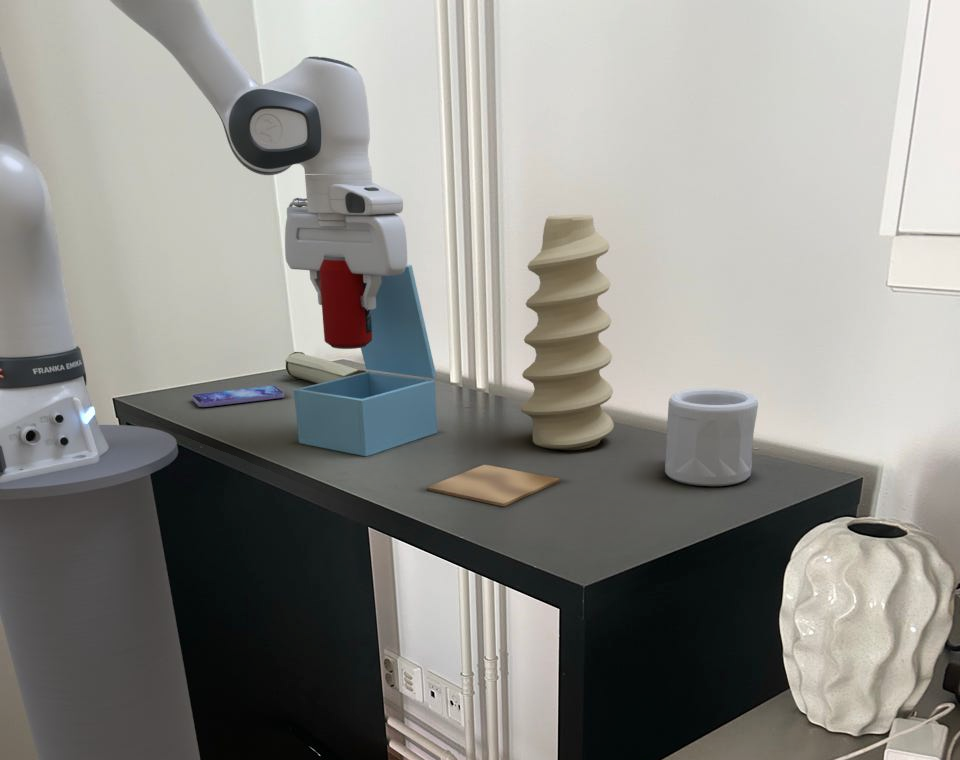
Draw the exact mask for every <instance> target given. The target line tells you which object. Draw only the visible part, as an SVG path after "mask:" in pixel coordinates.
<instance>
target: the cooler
mask: <svg viewBox="0 0 960 760" xmlns="http://www.w3.org/2000/svg"><path fill="white" fill-rule="evenodd" d="M293 398H294V407H295V416H296V427H297V436H298V443H299V444H302V445H307V446H311V447H316V448H322V449H328V450H333V451H337V452H343V453H347V454H351V455H352V454H353V455H357V456H362V457H369V456H372V455H375V454H377V453H381V452H384V451H387V450H390V449H393V448H396V447H398V446H399V447H400V446H402V445H404V444H408V443H411V442H414V441H418V440H419V439H422V438H426V437H429V436H431V435H432V436H433V435H434V434H438V417H437V394H436V381H435V380H434V379H426V378H420V377H419V378H418V377H413V376H405V375H397V374H390V373H382V372H376V371H366V372H364V373H360V374H356V375H352V376H348V377H344V378H340V379H335V380H331V381H327V382H323V383H319V384H318V383H315V384H312V385H307V386H304V387H300V388H295V389H293Z"/></svg>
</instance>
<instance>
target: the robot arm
mask: <svg viewBox="0 0 960 760" xmlns="http://www.w3.org/2000/svg"><path fill="white" fill-rule="evenodd" d="M109 2H111V3H112V4H113V5H114V6H115V7H116V8H117V9H118V10H119V11H121V12H122V13H123V14H124V15H125V16H127V17H128V18H129V19H130V20H131V21H133V23H135V24H136V25H138V26H139V27H140V28H142V30H144V31H145V32H147V33H148V34H149V35H150V36H151V37H153V38H154V39H155V40H156V41H157V42H159V43H160V44H161V46H163V47H164V48H165V49H166V51H168V52H169V53H170V54H171V55H172V57H173V58H174V59H175V60H176V61H177V62H178V64H179V65H180V66H181V67H182V69H183V70H184V71H185V72H186V74H187V75H188V77H190V79H191V80H192V81H193V83H194V84H195V85H196V87H197V88H198V89H199V91H200V92H201V93H202V94H203V96H204V97H205V98H206V100H207V101H208V102H209V103H210V104H211V106H212V108H214V110H215V112H216V113H217V115H218V117H219V118H220V120H221V123H222V126H223V129H224V132H225V136H226V140H227V143H228V145H229V147H230V150H231V153H232V154H233V155H234V157H235V158H236V159H237V161H238V162H239V163H240V164H241V165H242V166H243V167H245V169H247V170H249V171H251V172H253V173H255V174H258V175H261V176H262V175H263V176H275V175H279V174H282V173H284V172H286V171H287V170H289V169H290V168H291V167H293V165H300V166H301V167H302V168H303V170H304V181H305V193H306V194H305V195H306V198H301V197H295V198H293V199H292V201H291V202H290V203H289V205H288V206H287V208H286V220H285V228H284V231H285V232H284V255H285V262H286V264H287V265H288V267H289V269H291V270H299V271H309V279H310V282H311V283H312V285H313V287H314V289H315V291H316V293H317V302H318V305H319V306H322V301H321V286H320V267H321V264H322V262H323V260H324V256H326V257H345V261H346V263H347V265H348V267H349V269H350V270H351V272H352V273H353V274H363V281H364V283H367V285H366V288H365V291H364V295H362V296H359V301H360V308H361V309H366V310H371V309H375V308H376V295H377V292H378V290H379V287H380V285H381V283H382V280H381V276H393V275H400V274H403V272H404V270H405V269H406V267H407V265H408V243H407V242H408V241H407V232H406V227H405V223H404V220H403V219H402V217H401V216H400V215H399V214H401V213H402V212H403V210H404V200H403V197H402V196H401V195H400V194H398V193H396V192H393V191H391V190H389V189H388V188H385V187H384V186H381V185H380V184H378V183H375V182H373V170H372V166H371V163H370V159H369V144H370V140H371V130H370V129H371V128H370V114H369V104H368V97H367V90H366V86H365V82H364V79H363V76H362V75H361V73H360V72H359V70H357V68H356V67H354V66H353V65H351V64H350V63H348V62H345V61H342V60H339V59H335V58H330V57H325V56H307V57H304V58H303V59H302V60H301V61H300V62H299V63H298V64H297V65H296V66H295V67H293V68H292V69H290V70H289V71H287V72H286V73H284V74H283V75H281V76H279V77H276V78H275V79H274V80H271V81H269V82H267V83H264V84H261V85H260V84H258V83H257V81H255V79H253V78H252V77H251V76H250V75H249V73H248V71H246V69H245V67H244V66H243V65H242V64H241V63H240V61H239V60H238V58H237V57H236V56H235V54H234V53H233V52H232V51H231V49H230V48H229V47H228V45H227V44H226V42H225V41H224V40H223V39H222V37H221V36H220V35H219V33H218V32H217V30H216V29H215V28H214V26H213V24H211V22H210V20H209V18H208V16H207V15H206V13H205V12H204V10H203V7H202V5H201V4H200V0H109ZM5 61H6V60H5V58H4V55H3V51H2V49H1V47H0V483H3V482H8V481H13V480H18V479H23V478H27V477H32V476H37V475H42V474H47V473H52V472H56V471H61V470H66V469H71V468H76V467H81V466H85V465H90V464H95V463H97V462H99V461H100V456H101V455H102V454H104V453H105V452H107V451H108V449H109V445H108V443H107V442H106V440H105V438H104V436H103V434H102V432H101V429H100V427H99V425H100V424H99V422H98V420H97V418H96V417H97V416H96V411H95V407H94V406H93V405H92V403H91V400H90V399H91V398H90V396H89V393H88V389H87V373H86V368H85V364H84V359H83V354H82V350H81V348H80V347H79V346H78V345H77V342H76V336H75V332H74V331H75V330H74V326H73V320H72V316H71V311H70V306H69V301H68V295H67V290H66V285H65V279H64V272H63V266H62V259H61V255H60V247H59V242H58V241H59V240H58V235H57V228H56V224H55V218H54V211H53V207H52V201H51V196H50V191H49V190H50V189H49V186H48V183H47V181H46V178H45V177H44V175H43V173H42V171H41V170H40V169H39V167H38V166H37V165H36V163H35V160H34V156H33V153H32V149H31V146H30V143H29V140H28V137H27V132H26V129H25V126H24V122H23V119H22V115H21V112H20V108H19V105H18V101H17V98H16V94H15V90H14V87H13V83H12V79H11V76H10V73H9V70H8V67H7V64H6V62H5Z"/></svg>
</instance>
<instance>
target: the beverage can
mask: <svg viewBox="0 0 960 760" xmlns="http://www.w3.org/2000/svg"><path fill="white" fill-rule="evenodd" d="M366 285H367V283H364V281H363V274H353V273H352V272H351V270H350V269H349V267H348V265H347V263H346V261H345V257H326V256H324V260H323V262H322V264H321V267H320V286H321V301H322V305H321V310H322V311H321V314H322V315H321V316H322V325H323V337H324V338H323V339H324V342H325V343H326V344H327V345H329V346H330V347H331V348H333V349H336V350H337V349H339V350H356V349H361V348H362V347H365V346H366V345H367V344H368V343H370V342H371V341H372V322H371V310H366V309H361V308H360V301H359V296H362V295H364V291H365V288H366Z"/></svg>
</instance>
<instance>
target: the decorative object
mask: <svg viewBox="0 0 960 760" xmlns="http://www.w3.org/2000/svg"><path fill="white" fill-rule="evenodd" d="M543 226H544V227H543V233H542V242H541V243H542V245H541V249H540V252H539V253H537V255H536V256H535V257H534V258H532V259H531V260H530V261H529V262H528V264H527V266H526V267H527V269H528V271H530V272H532V273H534V274H535V275H536V276H537V277H538V279H539V287H538V289H537V291H535V292H534V293H533V294H532V295H531V296H530V297H529V298H528V299H527V300H526V302H525V306H526V308H527V309H529V310H532V311H533V312H535V313H536V316H537V323H536V326H535V327H534V328H533V329H532V330H531V331H529V332H528V333H527V334H526V335H525V336H524V339H523V341H524V343H525V344H526V345H529V346H530V347H532V348H533V349H534V351H535V357H534V358H535V359H534V361H533V362H532V363H531V364H530V365H529V366H528V367H527V368H525V369H524V370H523V372H522V374H521V376H522V378H523V379H525V380H527V381H528V382H530V383H532V385H533V388H534V389H533V394H532V396H530V398H529V399H528V400H526V401H525V402H524V403H522V405H521V406H520V411H521V413H522V414H525V415H527V416H529V417H530V418H531V422H532V443H533V444H535V446H539V447H540V448H544V449H548V450H549V449H550V450H559V451H560V450H562V451H576V450H584V449H588V448H592V447H595V446H597V445H598V444H600V442H601V440H603V439H604V438H606V437H608V436H609V435H610V434H611V433H612V431H613V429H614V427H615V424H614V421H613V419H612V418H611V416H610V415H609V414H608V413H606V412H605V411H604V410H602V407H601V405H604V404H605V403H607V402H608V401H609V400H610V399H611V398H612V396H613V393H614V390H613V387H612V385H611V384H610V382H608V381H607V380H606V379H605V378H603V377H602V376H601V374H600V372H601V371H600V370H601V369H604V368H606V367H607V366H609V365H610V364H611V361H612V360H613V355H612V352H611V350H610V349H609V348H608V347H607V346H605V344H603V343H602V342H601V341H600V338H599V335H600V334H601V333H603V332H604V331H606V330H608V329H609V328H610V326H611V323H612V318H611V316H610V315H609V314H608V313H607V312H606V311H605V310H604V309H602V307H601V306H599V302H598V298H599V297H600V296H601V295H603V294H606V292H608V291H609V289H610V287H611V282H610V279H609V278H608V277H607V275H605V274H603V273H602V272H601V271H600V270H599V268H598V265H597V261H598V259H599V258H600V257H602V256H604V255H605V254H607V253H608V251H609V249H610V247H611V246H610V244H609V242H608V240H607V239H606V238H604V237H603V235H601V234H600V233H598V232H597V231H596V227H595V223H594V217H593V216H592V215H591V214H556V215H549V216H547V217H546V219H545V222H544V225H543Z"/></svg>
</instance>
